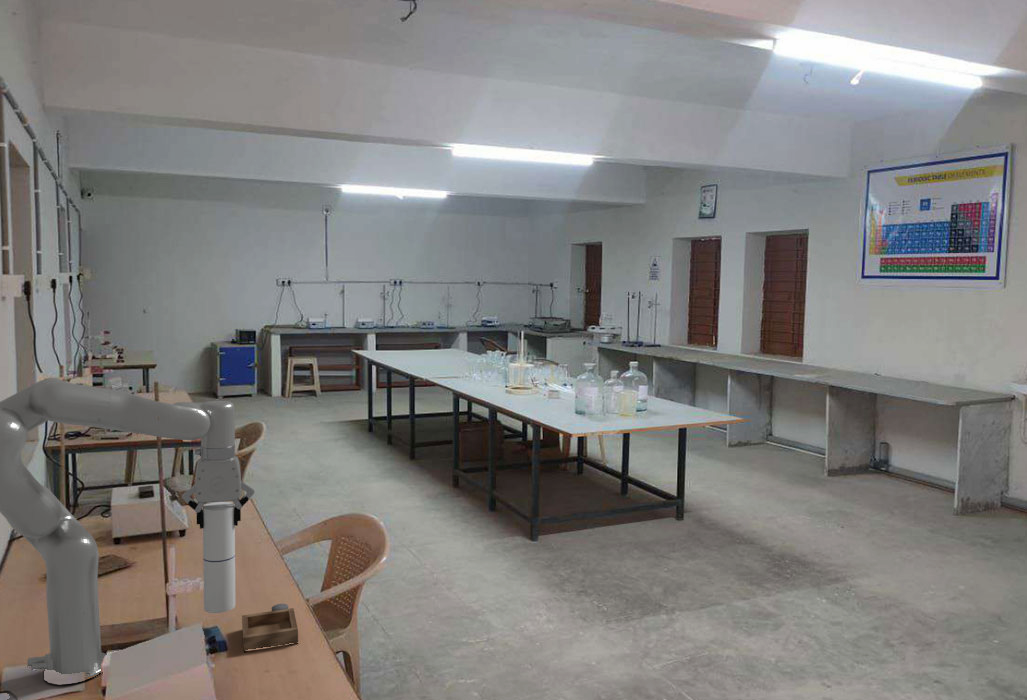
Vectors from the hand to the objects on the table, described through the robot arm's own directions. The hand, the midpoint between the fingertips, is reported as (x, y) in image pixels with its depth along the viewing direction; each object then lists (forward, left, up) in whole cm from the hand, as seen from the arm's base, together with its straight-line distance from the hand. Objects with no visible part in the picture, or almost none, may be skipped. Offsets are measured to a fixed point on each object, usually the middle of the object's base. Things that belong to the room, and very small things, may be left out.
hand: (218, 525), depth 183 cm
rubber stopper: (+14, 0, -26) cm, 29 cm away
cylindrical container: (0, 0, -21) cm, 21 cm away
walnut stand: (+11, -9, -26) cm, 29 cm away
